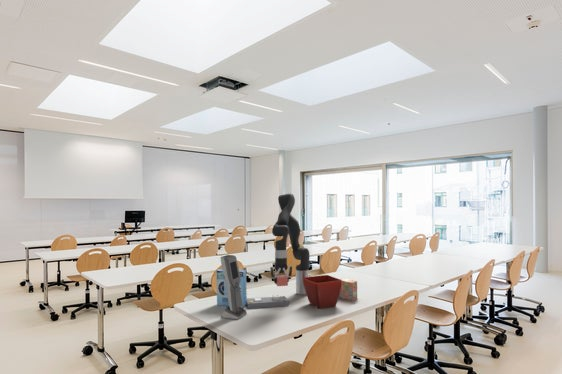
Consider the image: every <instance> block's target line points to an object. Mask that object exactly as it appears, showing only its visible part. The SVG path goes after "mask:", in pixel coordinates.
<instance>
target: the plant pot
mask: <svg viewBox="0 0 562 374" xmlns="http://www.w3.org/2000/svg"><path fill="white" fill-rule="evenodd" d="M340 279H341V278H337V277H334V276H332V275H329V274H324V275H313V276H308V277H304V278H303V282H304V287H305V291H306V297H307V299H308V302H309V305H312V306H313V307H315V308H317V309H324V308H330V307H336V306H337V303H338V301H339V298H338V297H339V294H340V289H341V282H342V280H340Z"/></svg>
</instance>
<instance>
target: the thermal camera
mask: <svg viewBox="0 0 562 374" xmlns="http://www.w3.org/2000/svg"><path fill="white" fill-rule="evenodd" d="M220 263H221V269H222V270H223V274H224V278H225V279H224V281H225V282H226V286H227V295H228V301H229V306H226V308H225V309H224V310H223V312H222V313H221V318H223V319H231V320H237V321H238V320H240V319H241V318H243V317H244V316H246V315H247V314H248V313H247V310H246V309H245V308H244V307H243V304H242V299H241V294H240V289H239V284H240V282H241V277H240V273H239V270H240V269H239V265H238V261H237V257H236V256H235V255H233V254H227V255H223V256H220Z"/></svg>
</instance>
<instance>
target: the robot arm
mask: <svg viewBox="0 0 562 374" xmlns="http://www.w3.org/2000/svg"><path fill="white" fill-rule="evenodd" d="M277 199H278V204H279V208H280V210H281V211H280V212H279V214H278V216H277V221H276V222H275V224H274V225H273V226H272V229H271V232H272V233H271V234H272V235H273V236H274V237H282V238H281V239H278V240H275V243H274V246H275V247H274V248H275V250H274V259H275V260H274V264H275V265H274V266H273V267H272V266H270V276H271V277H272V278H273V282H274V284H275V285H276V284H277V278H276V277H277V275H279V274H284V275H286V276H287V277H288V283H289V282H290V281H289V279H290V277H291V276H292V275H293V274H292V272H293V266H292V265H288V251H287V241H288V236H289V241H290V245H291V252H292V255H293V258H294V259H295V260H298V261H300V262H299V264H297V265H296V266H295V291H296V292H295V294H297V295H299V296H301V295H302V296H304V295H305V296H307V294H306V291H305V287H304V282H303V278H304V277H309V267H310V256H311V255H310V250H309V248H308V247H307V248H306V247H301V246H300V242H299V239H300V236H301V228H300V224H299V221H298V220H297V219H296V218H295V216H293V215H292V214H291V213H292V211H293V208H294V206H295V204H296V199H295V196H294V194H293V193H291V192H289V193H284V194H280V195H279V196H278V198H277ZM274 270H275V273H274ZM287 270H288V272H287Z"/></svg>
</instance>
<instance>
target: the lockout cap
mask: <svg viewBox="0 0 562 374" xmlns="http://www.w3.org/2000/svg"><path fill="white" fill-rule="evenodd" d="M276 278H277V284H275V286H276V287H288V286H289V282H288V277H287V276H286V274H278V275H277V277H276Z"/></svg>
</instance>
